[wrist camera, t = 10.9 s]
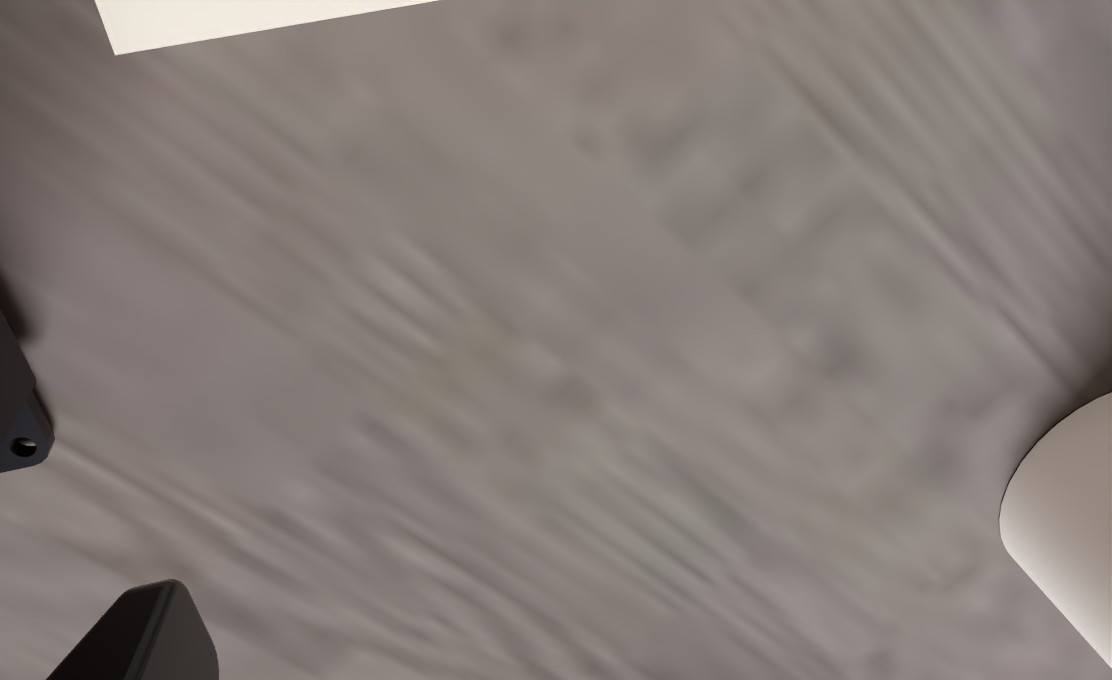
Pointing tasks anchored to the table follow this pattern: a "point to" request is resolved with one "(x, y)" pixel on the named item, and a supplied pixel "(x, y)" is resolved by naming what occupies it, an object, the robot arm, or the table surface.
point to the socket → (216, 18)
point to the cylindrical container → (1068, 520)
